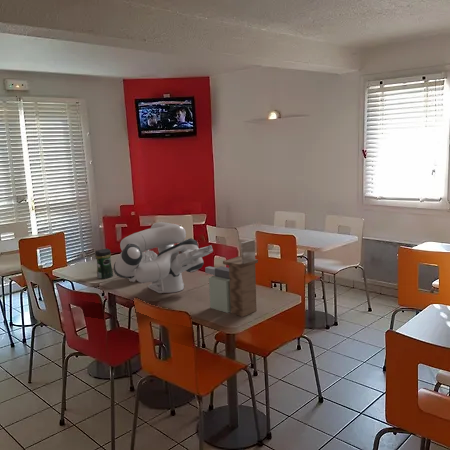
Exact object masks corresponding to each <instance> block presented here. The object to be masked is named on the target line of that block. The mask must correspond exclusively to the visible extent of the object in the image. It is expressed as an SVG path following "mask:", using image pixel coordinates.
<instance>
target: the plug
mask: <svg viewBox="0 0 450 450" xmlns="http://www.w3.org/2000/svg"><path fill="white" fill-rule="evenodd" d="M204 268H205V269H204V272H205V274H208V275H212V276H217V277H221V278H225V279H229V267H227V266H223V265H222V266H218V267H214V266H210V265H209V266H206V267H204Z"/></svg>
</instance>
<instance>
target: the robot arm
mask: <svg viewBox="0 0 450 450" xmlns="http://www.w3.org/2000/svg"><path fill="white" fill-rule="evenodd" d="M136 232H137V233H135V232H133V233H132V234H129V235H128V236H125V237H124V238H122V239H121V241H120V243H119V245H120V247H119V248H120V250H121V252H120V253H119V255H118V256H117V258H116V260H115V262H114V265H113V274H115V275H116V276H117V277H118V278H122V279H128V278H130V279H131V278H133V277H134V276H135V278H136V280H135V281H137V282H138V283H141V284H142V283H143V284H144V283H150V284H148V286H147V288H148V289H150V290H152V291H154V292H156V293H157V294H162V293H163V294H164V293H166V294H167V293H171V294H172V293H176V292H180V291H183V290H184V288H185V287H184V286H185V283H184V281H183V275H182V274H183V273H184V272H187V273H194V272H197V271H198V270H200V269H202V267H204V264H205V263H204V259H203V257H206V256H208V255H210V254H212V253H213V252H214V249H213V246H212V244H211V245H208V246H204V247H200V248H199V244H198V241H197V240H195V239H193V238H192V237H191V238H187V231H186V229H185V228H184V227H183V226H181V225H179V224H177V223H171V222H170V223H169V222H164V221H158V222H154V223H153V224H152V225H151V227H150V228H146V229H144V230H140V231H136ZM155 248H157V251H158V254H157V258H156V259H155V260H152V261H149V262H141V259H142V252H146V251H147V250H149V251H151V250H153V249H155ZM180 252H181V253H180Z"/></svg>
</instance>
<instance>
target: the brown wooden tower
mask: <svg viewBox="0 0 450 450" xmlns="http://www.w3.org/2000/svg"><path fill="white" fill-rule="evenodd" d="M255 242H256V241H255V239H250V240H246V241H242V242H240V247H241V249H240V251H241V252H240V253H241V256H240V255H239V256H236V257H231V258H230V259H226V260H223V261H222V264H223V265H225V266H228V268H229V279H230V303H231V312H230V314H232V315H236V316H239V317H246V316H248V315H251V314H253V313H255V312H257V310H258V309H257V285H256V284H257V281H256V278H257V277H256V264H257V263H258V262H259V259H257V258H256V244H255Z"/></svg>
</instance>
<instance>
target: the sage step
mask: <svg viewBox="0 0 450 450" xmlns="http://www.w3.org/2000/svg"><path fill="white" fill-rule="evenodd" d="M208 289H209V290H208V291H209V308H210V309H212V310H216V311H220V312H224V313H226V314H229V313H231V303H230V279H225V278H221V277H217V276H215V275H212V276H209V277H208Z"/></svg>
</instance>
